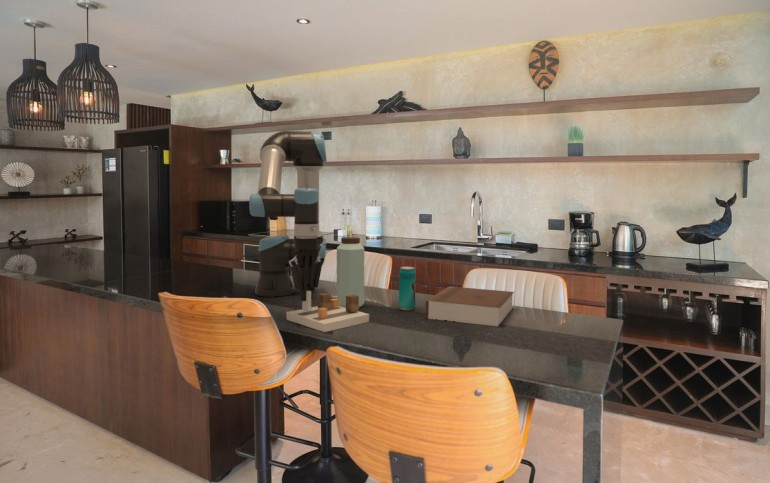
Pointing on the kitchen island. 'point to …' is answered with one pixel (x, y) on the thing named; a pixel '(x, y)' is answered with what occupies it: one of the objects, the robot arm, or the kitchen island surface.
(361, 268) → the water bottle
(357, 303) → the tab
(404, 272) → the beverage can
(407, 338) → the kitchen island surface
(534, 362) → the kitchen island surface
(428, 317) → the book
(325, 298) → the tab
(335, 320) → the switch board
